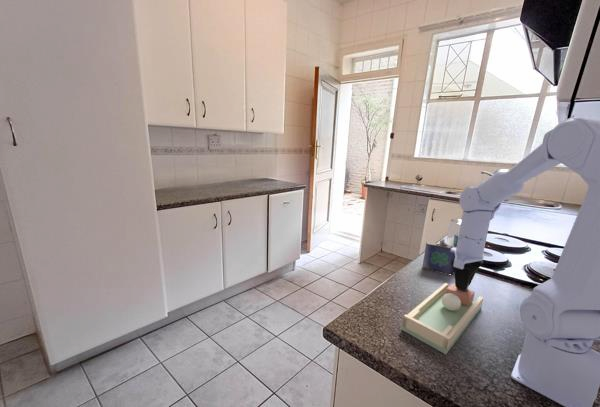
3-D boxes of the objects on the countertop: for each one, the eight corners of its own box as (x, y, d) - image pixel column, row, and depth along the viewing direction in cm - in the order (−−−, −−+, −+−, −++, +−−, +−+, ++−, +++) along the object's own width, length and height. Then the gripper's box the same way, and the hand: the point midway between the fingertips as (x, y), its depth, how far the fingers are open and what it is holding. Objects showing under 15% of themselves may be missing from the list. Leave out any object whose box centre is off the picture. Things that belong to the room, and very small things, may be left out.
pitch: (481, 307, 67) (483, 295, 66) (445, 354, 51) (448, 338, 50) (443, 292, 74) (445, 281, 73) (401, 329, 58) (403, 315, 57)
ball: (461, 310, 64) (464, 295, 63) (456, 316, 61) (459, 301, 60) (444, 302, 67) (446, 288, 66) (437, 308, 64) (440, 293, 63)
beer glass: (468, 267, 90) (477, 225, 87) (446, 265, 91) (454, 223, 88) (460, 259, 97) (468, 220, 93) (440, 257, 98) (447, 218, 95)
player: (472, 300, 68) (478, 275, 66) (468, 306, 65) (473, 280, 64) (451, 291, 72) (455, 267, 70) (445, 297, 69) (450, 272, 67)
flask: (421, 268, 88) (426, 238, 85) (422, 265, 90) (427, 235, 88) (453, 276, 84) (459, 244, 81) (453, 272, 86) (459, 241, 84)
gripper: (463, 227, 73) (455, 272, 76) (443, 237, 63) (434, 288, 66) (494, 234, 68) (484, 282, 71) (477, 246, 58) (466, 301, 61)
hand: (462, 286), depth 68 cm, fingers closed on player, 2 cm apart
